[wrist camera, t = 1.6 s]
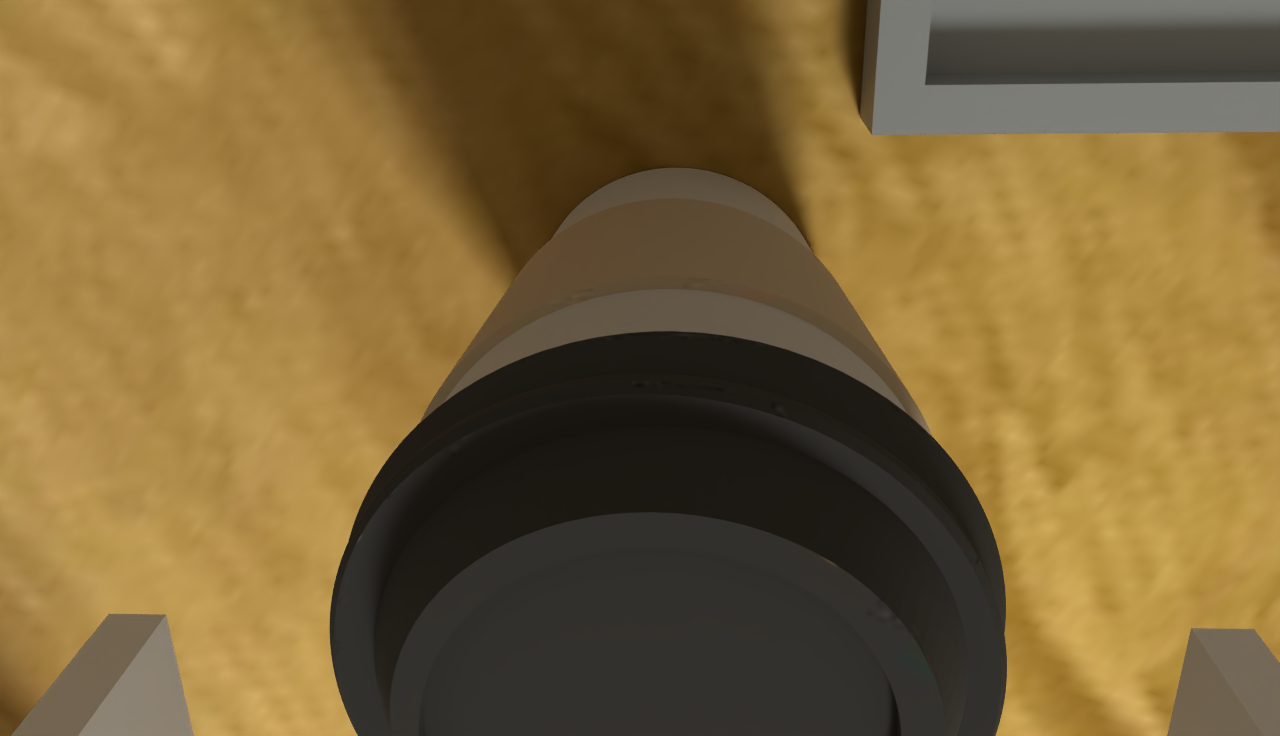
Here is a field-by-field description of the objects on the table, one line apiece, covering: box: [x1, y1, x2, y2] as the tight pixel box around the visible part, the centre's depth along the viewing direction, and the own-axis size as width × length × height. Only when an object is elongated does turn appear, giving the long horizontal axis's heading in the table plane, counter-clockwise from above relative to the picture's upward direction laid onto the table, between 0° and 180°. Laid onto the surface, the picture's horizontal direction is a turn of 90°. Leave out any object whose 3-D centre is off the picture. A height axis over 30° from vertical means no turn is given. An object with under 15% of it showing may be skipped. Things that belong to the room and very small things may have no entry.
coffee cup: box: [330, 168, 1007, 736], centre depth 20 cm, size 9×9×15 cm
